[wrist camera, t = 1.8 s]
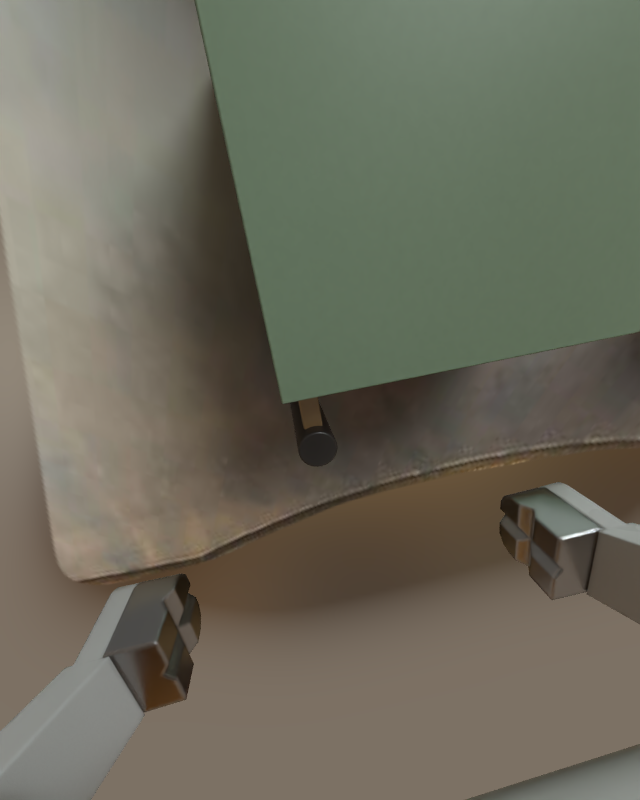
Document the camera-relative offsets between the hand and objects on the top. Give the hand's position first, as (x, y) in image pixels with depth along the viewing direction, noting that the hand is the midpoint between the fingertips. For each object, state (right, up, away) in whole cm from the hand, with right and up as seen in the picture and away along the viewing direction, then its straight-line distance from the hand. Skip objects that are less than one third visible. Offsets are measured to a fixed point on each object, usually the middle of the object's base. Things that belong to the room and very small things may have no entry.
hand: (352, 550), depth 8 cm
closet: (+3, +16, +10) cm, 19 cm away
